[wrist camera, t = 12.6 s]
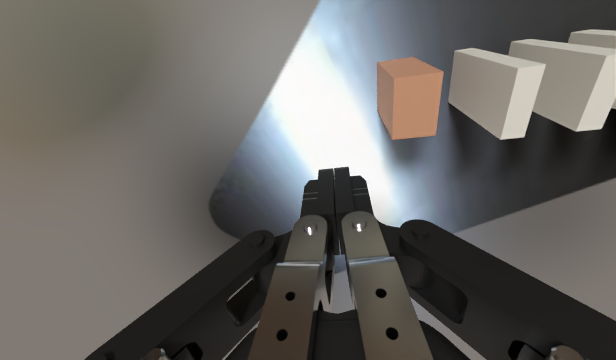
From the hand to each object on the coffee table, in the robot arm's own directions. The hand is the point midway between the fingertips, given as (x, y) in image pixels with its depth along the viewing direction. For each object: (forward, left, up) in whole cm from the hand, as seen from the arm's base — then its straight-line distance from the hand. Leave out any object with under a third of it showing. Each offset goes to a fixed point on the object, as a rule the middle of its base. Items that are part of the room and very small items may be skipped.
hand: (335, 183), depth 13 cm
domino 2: (-13, 0, -18) cm, 22 cm away
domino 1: (-7, 0, -18) cm, 19 cm away
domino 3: (-18, 0, -18) cm, 25 cm away
